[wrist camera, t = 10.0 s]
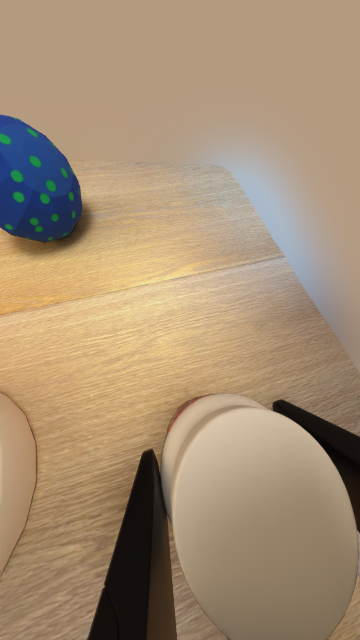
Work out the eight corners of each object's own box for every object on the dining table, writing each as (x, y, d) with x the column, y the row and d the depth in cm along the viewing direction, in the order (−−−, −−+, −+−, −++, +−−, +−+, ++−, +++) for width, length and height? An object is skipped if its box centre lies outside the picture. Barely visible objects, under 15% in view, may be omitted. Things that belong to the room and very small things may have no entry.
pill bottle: (180, 386, 15) (191, 361, 6) (249, 411, 15) (375, 423, 6) (154, 470, 13) (110, 625, 4) (234, 503, 12) (405, 777, 3)
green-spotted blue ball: (-48, 135, 26) (-31, 28, 17) (63, 204, 37) (107, 161, 28) (-83, 225, 23) (-84, 152, 14) (49, 271, 34) (93, 246, 25)
